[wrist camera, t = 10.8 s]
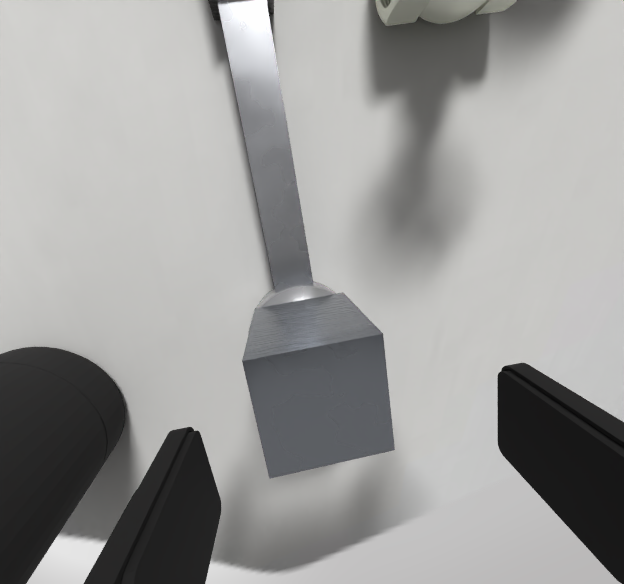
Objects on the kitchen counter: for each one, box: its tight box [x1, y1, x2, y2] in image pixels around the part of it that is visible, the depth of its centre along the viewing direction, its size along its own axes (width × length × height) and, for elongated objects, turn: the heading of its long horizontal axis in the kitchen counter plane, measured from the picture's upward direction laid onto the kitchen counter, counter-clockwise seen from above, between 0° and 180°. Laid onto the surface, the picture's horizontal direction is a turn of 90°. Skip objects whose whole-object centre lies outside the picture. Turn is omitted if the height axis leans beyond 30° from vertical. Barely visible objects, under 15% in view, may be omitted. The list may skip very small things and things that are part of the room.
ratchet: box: [208, 0, 336, 336], centre depth 14 cm, size 6×28×6 cm, turn 9°
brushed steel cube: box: [242, 293, 395, 478], centre depth 14 cm, size 5×5×6 cm
